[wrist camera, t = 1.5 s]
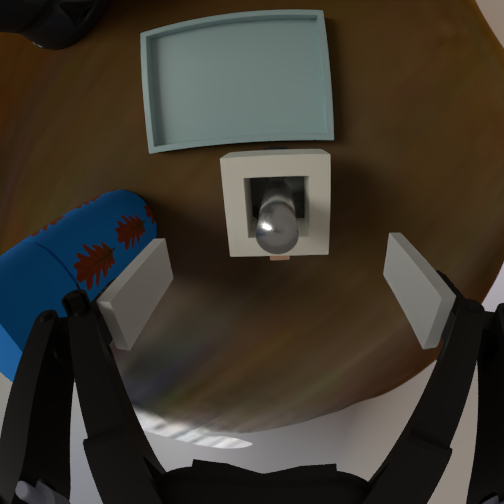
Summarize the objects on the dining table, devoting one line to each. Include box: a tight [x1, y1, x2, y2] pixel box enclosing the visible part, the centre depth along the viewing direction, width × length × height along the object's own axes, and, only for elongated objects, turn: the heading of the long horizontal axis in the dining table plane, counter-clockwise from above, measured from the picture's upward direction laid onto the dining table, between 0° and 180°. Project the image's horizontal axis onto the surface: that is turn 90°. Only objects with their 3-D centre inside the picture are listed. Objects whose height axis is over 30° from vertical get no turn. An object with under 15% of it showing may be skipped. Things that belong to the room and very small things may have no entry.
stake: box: [250, 147, 305, 254], centre depth 25 cm, size 9×9×15 cm
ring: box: [220, 149, 331, 260], centre depth 26 cm, size 11×9×5 cm
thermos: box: [0, 190, 157, 382], centre depth 25 cm, size 11×11×25 cm
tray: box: [141, 10, 334, 154], centre depth 26 cm, size 15×20×2 cm
